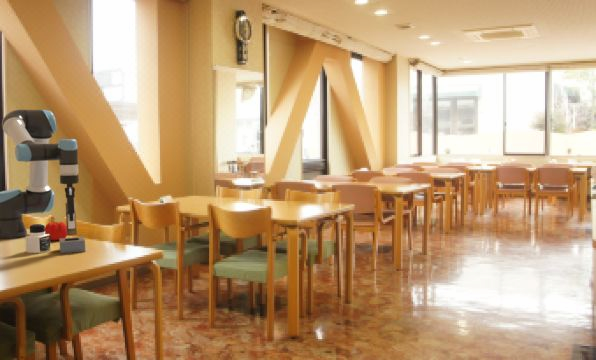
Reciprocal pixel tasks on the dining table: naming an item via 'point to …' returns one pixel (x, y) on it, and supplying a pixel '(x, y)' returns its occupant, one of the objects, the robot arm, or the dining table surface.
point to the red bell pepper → (56, 230)
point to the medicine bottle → (37, 239)
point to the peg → (69, 231)
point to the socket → (72, 245)
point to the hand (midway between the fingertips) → (71, 227)
